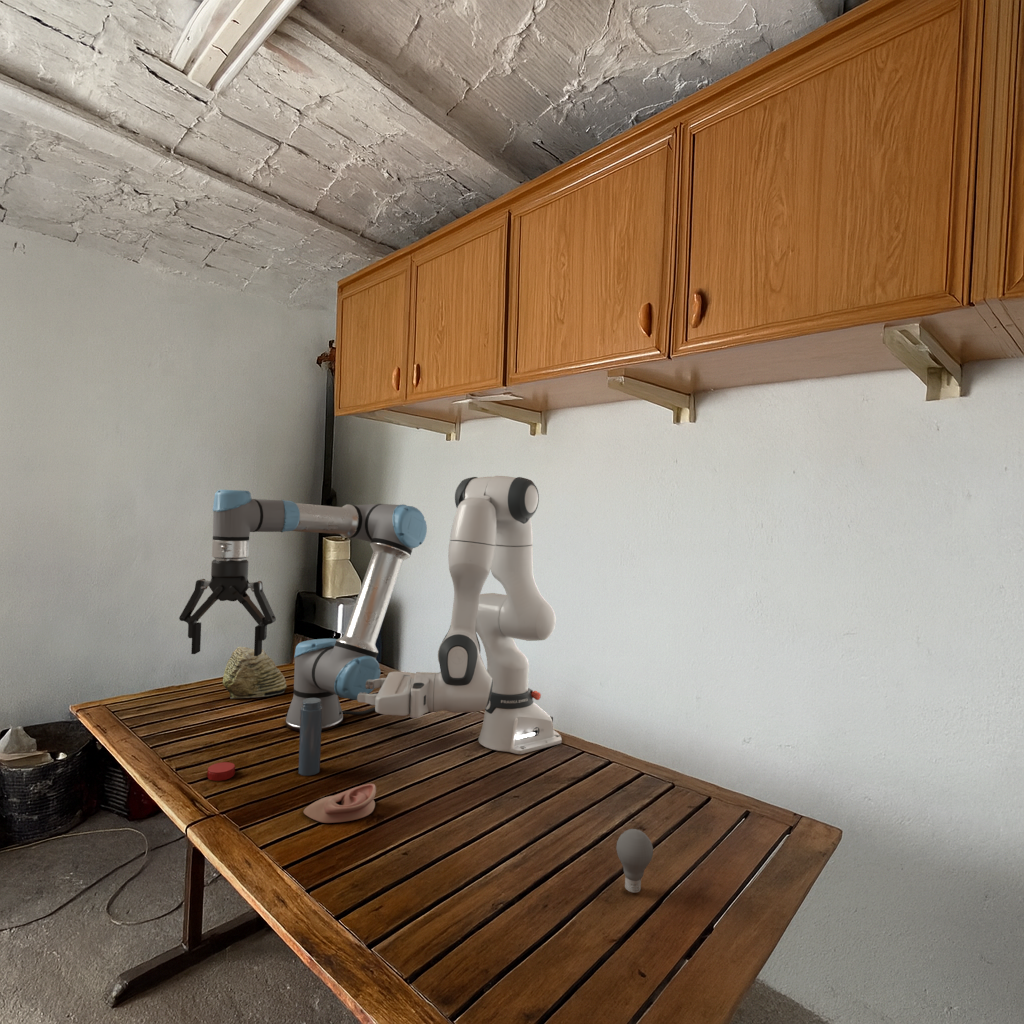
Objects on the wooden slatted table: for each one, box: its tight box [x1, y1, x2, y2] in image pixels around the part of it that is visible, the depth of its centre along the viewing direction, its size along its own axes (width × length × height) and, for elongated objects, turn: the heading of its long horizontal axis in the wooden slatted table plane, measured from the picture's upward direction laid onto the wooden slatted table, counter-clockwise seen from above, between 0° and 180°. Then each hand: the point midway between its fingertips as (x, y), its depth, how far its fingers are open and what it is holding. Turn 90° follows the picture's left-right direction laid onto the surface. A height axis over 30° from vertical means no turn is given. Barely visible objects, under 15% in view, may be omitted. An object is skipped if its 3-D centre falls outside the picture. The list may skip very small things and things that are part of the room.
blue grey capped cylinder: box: [297, 698, 322, 777], centre depth 146 cm, size 5×5×16 cm
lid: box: [206, 761, 236, 782], centre depth 142 cm, size 6×6×2 cm
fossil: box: [222, 646, 288, 699], centre depth 198 cm, size 9×18×15 cm, turn 132°
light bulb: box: [615, 828, 654, 894], centre depth 106 cm, size 6×6×10 cm
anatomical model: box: [302, 783, 377, 824], centre depth 128 cm, size 13×4×12 cm
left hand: (226, 653), depth 141 cm, fingers open, 13 cm apart
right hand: (362, 690), depth 146 cm, fingers open, 8 cm apart
